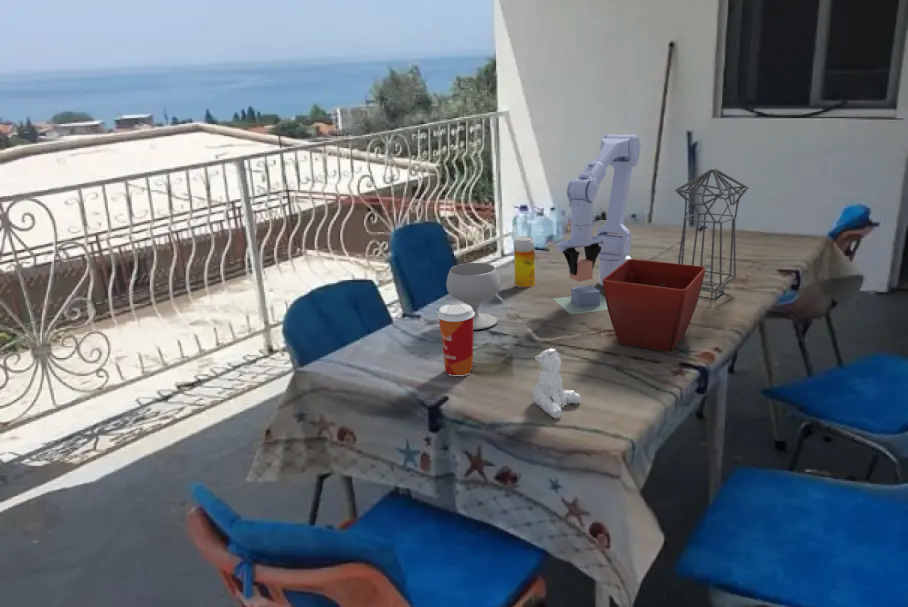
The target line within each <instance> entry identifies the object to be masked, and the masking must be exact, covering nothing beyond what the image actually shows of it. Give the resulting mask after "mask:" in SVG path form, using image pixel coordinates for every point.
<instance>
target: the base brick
mask: <svg viewBox="0 0 908 607" xmlns="http://www.w3.org/2000/svg"><path fill="white" fill-rule="evenodd" d="M600 294H601V291H600V290H599V289H598V288H596V287H594V286H593V285H592V284H591V285H583V286H582V285H581V286H573V287H571V288H570V296H571V302H573V303H574V304H575V305H576V306H577V307H579V308H583V307H591V306H599V305H600Z"/></svg>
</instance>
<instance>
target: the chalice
mask: <svg viewBox="0 0 908 607" xmlns="http://www.w3.org/2000/svg"><path fill="white" fill-rule="evenodd" d="M445 286H446V291H447V292H448V294H449V295H450V296H451V298H453V299H456V300H458V301H459V302H462V303H463V304H467V305H470V306H471V307H472V309H473V311H474V313H475V315H474V317H473V331H475V330H483V329H488V328H491V327H493V326H495V325H497V323H498V320H499V319H498V318H497V317H496V316H494V315H492V314H488V313H482V312H479V307H480V306H481V304H483V303H484V302H486V301H488V300H490V299H492V298H493V297H495V296H496V295H497V293H498V292H499V291H500V288H501V280H500V276H499V273H498V270H497V269H496V267H495V266H494V265H492V264H491V263H486V262H465V263H460V264H456V265H454V266H452V267H451V268H450V270H449V271H448V274H447V277H446V284H445Z"/></svg>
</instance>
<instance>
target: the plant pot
mask: <svg viewBox="0 0 908 607" xmlns="http://www.w3.org/2000/svg"><path fill="white" fill-rule="evenodd" d="M705 270H707V268H706V267H705V266H703V265H702V266H700V265H695V264H694V265H692V264H684V263H683V264H681V263H680V264H678V263H673V262H665V261H664V262H663V261H656V260H647V259H646V260H645V259H635V258H631V259H628V260H626V261H625V262H624V263H623V264H621V265H620V266H619V267H618V268H616V269H615V270H614V271H613V272H611V273H610V274H609V275H607V276H606V277H605V278H603V286H602V287H603V293H604V297H605V299H606V303H607V308H608V310H607V313H608V315H609V317H610V318H609V319H610V321H611V326H612V328H613V331H614V334H615V336H616V339H617V341H618V343H619V344H621V345H625V346H630V347H637V348H643V349H648V348H649V349H648V350H655V351H661V352H672V351H674V349H675V348H676V346H677V345H678V344H679V343H680V341H681V340H682V339H683V338H684V336H685V335H686V332H687V330H688V329H689V325H690V323H691V320H692V318H693V315H694V314H695V313H694V312H695V310H696V307H697V304H698V300H699V298H700V297H699V296H701V295H700V294H701V291H702V290H701V289H702V288H701V287H703V285H702V283H704V282H703V281H704V279H705V275H706V272H705Z"/></svg>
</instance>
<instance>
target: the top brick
mask: <svg viewBox="0 0 908 607" xmlns="http://www.w3.org/2000/svg"><path fill="white" fill-rule="evenodd" d="M568 270H569V271H568V272H569V279H572V280H573V281H577V282H584V281H588V280H593V274H594V272H593V271H594V267H593V261H590V260H588V259H586V257H581V258H578V262H577V275H572V274H571V273H570V269H569V268H568Z"/></svg>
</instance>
